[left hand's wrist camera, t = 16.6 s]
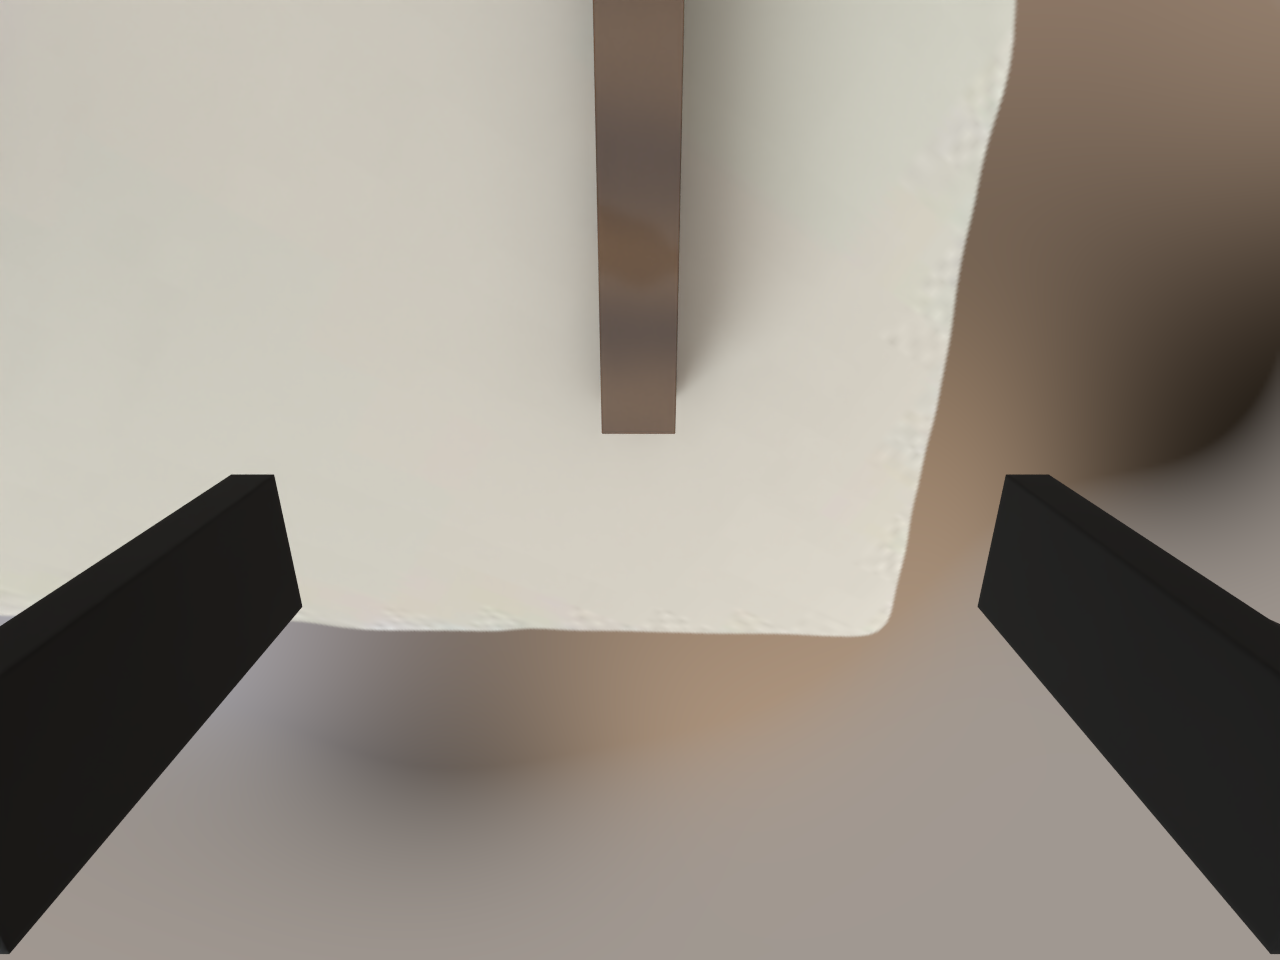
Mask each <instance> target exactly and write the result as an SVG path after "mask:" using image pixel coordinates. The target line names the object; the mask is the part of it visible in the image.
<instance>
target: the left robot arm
mask: <svg viewBox="0 0 1280 960" xmlns="http://www.w3.org/2000/svg"><path fill="white" fill-rule="evenodd" d="M301 608H302V603H301V598H300V593H299V589H298V584H297V579H296V575H295V570H294V565H293V561H292V556H291V551H290V547H289V542H288V537H287V533H286V528H285V523H284V519H283V514H282V509H281V505H280V500H279V495H278V491H277V486H276V481H275V477H274V475H230V476H228V477H227V478H225V479H224V480H222V481H221V482H219V483H218V484H216V485H215V486H213V487H212V488H210V489H209V490H207V491H206V492H204V493H203V494H201V495H199V496H198V497H196V498H195V499H193V500H192V501H190V502H189V503H187V504H186V505H184V506H183V507H181V508H180V509H178V510H177V511H175V512H174V513H172V514H171V515H169V516H167V517H166V518H164V519H163V520H161V521H160V522H158V523H157V524H155V525H154V526H152V527H151V528H149V529H148V530H146V531H145V532H143V533H142V534H140V535H139V536H137V537H135V538H134V539H132V540H131V541H129V542H128V543H126V544H125V545H123V546H122V547H120V548H119V549H117V550H116V551H114V552H113V553H111V554H110V555H108V556H107V557H105V558H103V559H102V560H100V561H99V562H97V563H96V564H94V565H93V566H91V567H90V568H88V569H87V570H85V571H84V572H82V573H81V574H79V575H78V576H76V577H75V578H73V579H71V580H70V581H68V582H67V583H65V584H64V585H62V586H61V587H59V588H58V589H56V590H55V591H53V592H52V593H50V594H49V595H47V596H46V597H44V598H42V599H41V600H39V601H38V602H36V603H35V604H33V605H32V606H30V607H29V608H27V609H26V610H24V611H23V612H21V613H20V614H18V615H17V616H15V617H14V618H12V619H10V620H9V621H7V622H6V623H4V624H3V625H1V626H0V954H10V953H11V951H12V950H13V949H14V948H15V947H16V945H17V944H18V943H19V942H20V941H21V940H22V938H23V937H24V936H25V935H26V934H27V932H28V931H29V930H30V929H31V928H32V926H33V925H34V924H35V923H36V922H37V921H38V919H39V918H40V917H41V916H42V915H43V913H44V912H45V911H46V910H47V909H48V908H49V906H50V905H51V904H52V903H53V902H54V900H55V899H56V898H57V897H58V896H59V895H60V893H61V892H62V891H63V890H64V889H65V887H66V886H67V885H68V884H69V883H70V881H71V880H72V879H73V878H74V877H75V876H76V874H77V873H78V872H79V871H80V870H81V868H82V867H83V866H84V865H85V864H86V863H87V861H88V860H89V859H90V858H91V857H92V855H93V854H94V853H95V852H96V851H97V849H98V848H99V847H100V846H101V845H102V843H103V842H104V841H105V840H106V839H107V838H108V836H109V835H110V834H111V833H112V832H113V830H114V829H115V828H116V827H117V826H118V825H119V823H120V822H121V821H122V820H123V819H124V817H125V816H126V815H127V814H128V813H129V812H130V810H131V809H132V808H133V807H134V806H135V804H136V803H137V802H138V801H139V800H140V799H141V797H142V796H143V795H144V794H145V793H146V791H147V790H148V789H149V788H150V787H151V785H152V784H153V783H154V782H155V781H156V779H157V778H158V777H159V776H160V775H161V774H162V772H163V771H164V770H165V769H166V768H167V767H168V765H169V764H170V763H171V762H172V760H173V759H174V758H175V757H176V756H177V755H178V753H179V752H180V751H181V750H182V749H183V748H184V746H185V745H186V744H187V743H188V742H189V740H190V739H191V738H192V737H193V736H194V734H195V733H196V732H197V731H198V730H199V729H200V727H201V726H202V725H203V724H204V723H205V721H206V720H207V719H208V718H209V717H210V716H211V714H212V713H213V712H214V711H215V710H216V708H217V707H218V706H219V705H220V704H221V703H222V701H223V700H224V699H225V698H226V697H227V695H228V694H229V693H230V692H231V691H232V689H233V688H234V687H235V686H236V685H237V683H238V682H239V681H240V680H241V679H242V678H243V676H244V675H245V674H246V673H247V672H248V670H249V669H250V668H251V667H252V666H253V665H254V663H255V662H256V661H257V660H258V659H259V657H260V656H261V655H262V654H263V653H264V652H265V650H266V649H267V648H268V647H269V646H270V644H271V643H272V642H273V641H274V640H275V639H276V637H277V636H278V635H279V634H280V633H281V631H282V630H283V629H284V628H285V627H286V625H287V624H288V623H289V622H290V621H291V620H292V618H293V617H294V616H295V615H296V614H297V612H298V611H299V610H300V609H301ZM978 608H979V609H980V610H981V611H982V612H983V614H984V615H985V616H986V617H987V618H988V619H989V621H990V622H991V623H992V624H993V625H994V627H995V628H996V629H997V630H998V631H999V633H1000V634H1001V635H1002V636H1003V637H1004V638H1005V640H1006V641H1007V642H1008V643H1009V644H1010V646H1011V647H1012V648H1013V649H1014V650H1015V652H1016V653H1017V654H1018V655H1019V656H1020V657H1021V659H1022V660H1023V661H1024V662H1025V663H1026V665H1027V666H1028V667H1029V668H1030V669H1031V670H1032V672H1033V673H1034V674H1035V675H1036V676H1037V678H1038V679H1039V680H1040V681H1041V682H1042V684H1043V685H1044V686H1045V687H1046V688H1047V689H1048V691H1049V692H1050V693H1051V694H1052V695H1053V697H1054V698H1055V699H1056V700H1057V701H1058V703H1059V704H1060V705H1061V706H1062V707H1063V708H1064V710H1065V711H1066V712H1067V713H1068V714H1069V716H1070V717H1071V718H1072V719H1073V720H1074V721H1075V723H1076V724H1077V725H1078V726H1079V727H1080V729H1081V730H1082V731H1083V732H1084V733H1085V735H1086V736H1087V737H1088V738H1089V739H1090V740H1091V742H1092V743H1093V744H1094V745H1095V746H1096V748H1097V749H1098V750H1099V751H1100V752H1101V753H1102V755H1103V756H1104V757H1105V758H1106V759H1107V761H1108V762H1109V763H1110V764H1111V765H1112V767H1113V768H1114V769H1115V770H1116V771H1117V772H1118V774H1119V775H1120V776H1121V777H1122V778H1123V780H1124V781H1125V782H1126V783H1127V784H1128V785H1129V787H1130V788H1131V789H1132V790H1133V791H1134V793H1135V794H1136V795H1137V796H1138V797H1139V799H1140V800H1141V801H1142V802H1143V803H1144V804H1145V806H1146V807H1147V808H1148V809H1149V810H1150V812H1151V813H1152V814H1153V815H1154V816H1155V817H1156V819H1157V820H1158V821H1159V822H1160V823H1161V825H1162V826H1163V827H1164V828H1165V829H1166V831H1167V832H1168V833H1169V834H1170V835H1171V836H1172V838H1173V839H1174V840H1175V841H1176V842H1177V844H1178V845H1179V846H1180V847H1181V848H1182V849H1183V851H1184V852H1185V853H1186V854H1187V855H1188V857H1189V858H1190V859H1191V860H1192V861H1193V862H1194V864H1195V865H1196V866H1197V867H1198V868H1199V870H1200V871H1201V872H1202V873H1203V874H1204V875H1205V877H1206V878H1207V879H1208V880H1209V881H1210V883H1211V884H1212V885H1213V886H1214V887H1215V889H1216V890H1217V891H1218V892H1219V893H1220V895H1221V896H1222V897H1223V898H1224V899H1225V900H1226V902H1227V903H1228V904H1229V905H1230V906H1231V908H1232V909H1233V910H1234V911H1235V912H1236V913H1237V915H1238V916H1239V917H1240V918H1241V919H1242V921H1243V922H1244V923H1245V924H1246V925H1247V927H1248V928H1249V929H1250V930H1251V931H1252V932H1253V934H1254V935H1255V936H1256V937H1257V938H1258V940H1259V941H1260V942H1261V943H1262V944H1263V945H1264V947H1265V948H1266V949H1267V950H1268V951H1269V953H1270V954H1280V624H1279V623H1276V622H1274V621H1272V620H1270V619H1268V618H1266V617H1265V616H1263V615H1262V614H1260V613H1259V612H1257V611H1256V610H1254V609H1253V608H1251V607H1250V606H1248V605H1247V604H1245V603H1244V602H1242V601H1241V600H1239V599H1238V598H1236V597H1234V596H1233V595H1231V594H1230V593H1228V592H1227V591H1225V590H1224V589H1222V588H1221V587H1219V586H1218V585H1216V584H1215V583H1213V582H1212V581H1210V580H1209V579H1207V578H1205V577H1204V576H1202V575H1201V574H1199V573H1198V572H1196V571H1195V570H1193V569H1192V568H1190V567H1189V566H1187V565H1186V564H1184V563H1183V562H1181V561H1180V560H1178V559H1176V558H1175V557H1173V556H1172V555H1170V554H1169V553H1167V552H1166V551H1164V550H1163V549H1161V548H1160V547H1158V546H1157V545H1155V544H1154V543H1152V542H1151V541H1149V540H1148V539H1146V538H1145V537H1143V536H1141V535H1140V534H1138V533H1137V532H1135V531H1134V530H1132V529H1131V528H1129V527H1128V526H1126V525H1125V524H1123V523H1122V522H1120V521H1119V520H1117V519H1116V518H1114V517H1113V516H1111V515H1109V514H1108V513H1106V512H1105V511H1103V510H1102V509H1100V508H1099V507H1097V506H1096V505H1094V504H1093V503H1091V502H1090V501H1088V500H1087V499H1085V498H1084V497H1082V496H1080V495H1079V494H1077V493H1076V492H1074V491H1073V490H1071V489H1070V488H1068V487H1067V486H1065V485H1064V484H1062V483H1061V482H1059V481H1058V480H1056V479H1055V478H1053V477H1052V476H1050V475H1006V477H1005V481H1004V486H1003V491H1002V495H1001V500H1000V505H999V510H998V514H997V519H996V523H995V528H994V533H993V538H992V542H991V547H990V551H989V556H988V561H987V565H986V570H985V575H984V579H983V584H982V589H981V593H980V598H979V603H978Z"/></svg>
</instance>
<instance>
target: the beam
mask: <svg viewBox="0 0 1280 960" xmlns="http://www.w3.org/2000/svg"><path fill="white" fill-rule="evenodd" d="M593 28H594V76H595V125H596V173H597V221H598V270H599V318H600V366H601V415H602V433H603V434H675V419H676V371H677V324H678V277H679V230H680V183H681V135H682V88H683V41H684V0H593Z"/></svg>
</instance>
